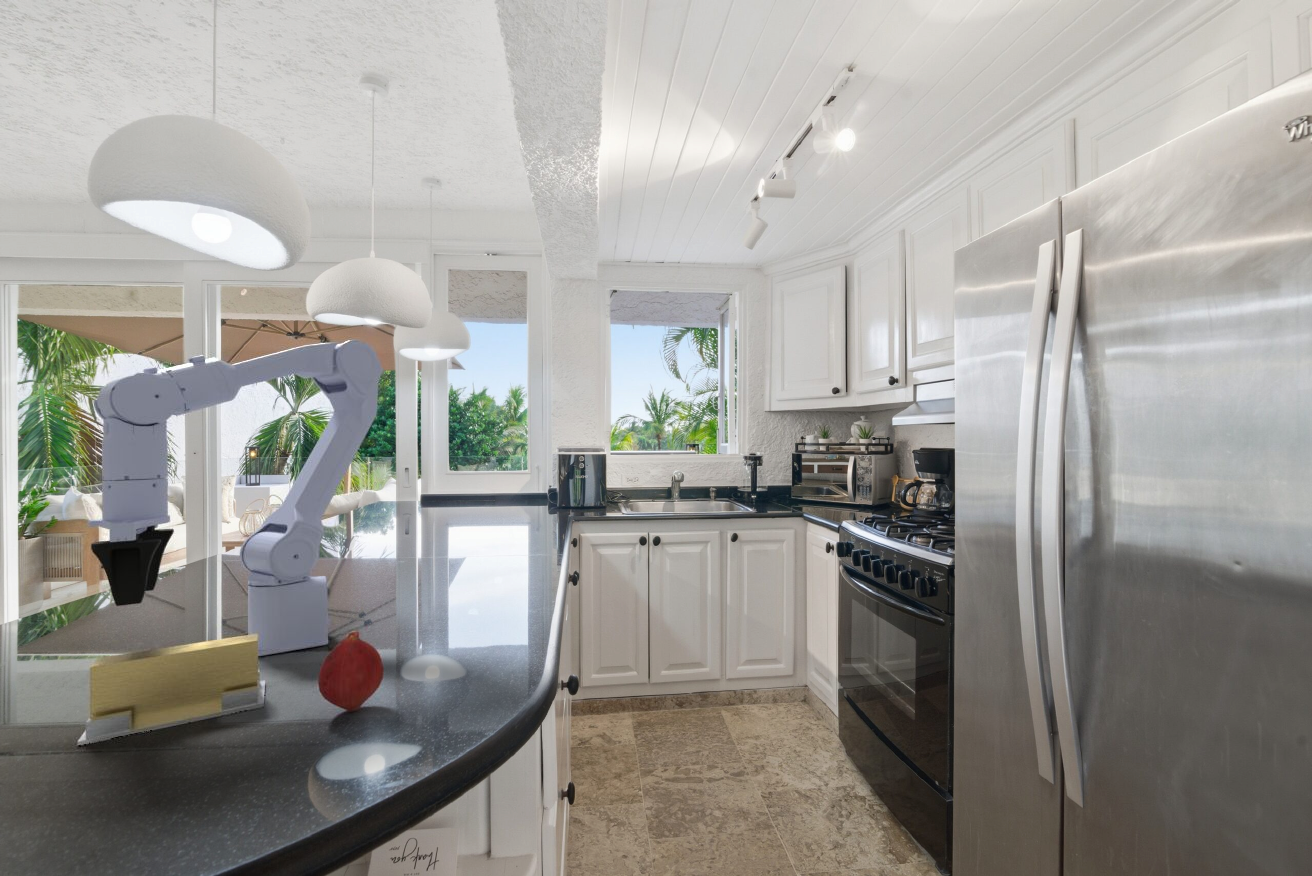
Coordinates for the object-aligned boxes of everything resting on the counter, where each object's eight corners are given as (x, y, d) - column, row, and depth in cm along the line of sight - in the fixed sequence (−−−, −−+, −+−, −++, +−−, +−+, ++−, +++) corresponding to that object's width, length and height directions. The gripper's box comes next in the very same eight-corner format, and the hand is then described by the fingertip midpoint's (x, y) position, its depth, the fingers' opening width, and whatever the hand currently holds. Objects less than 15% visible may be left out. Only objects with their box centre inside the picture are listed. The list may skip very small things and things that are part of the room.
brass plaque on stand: (258, 688, 65) (258, 633, 65) (257, 697, 62) (257, 640, 62) (98, 719, 58) (98, 658, 58) (90, 731, 55) (89, 667, 55)
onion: (317, 729, 55) (316, 643, 56) (319, 706, 61) (319, 628, 61) (385, 715, 58) (384, 633, 58) (382, 694, 63) (381, 619, 63)
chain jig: (265, 683, 67) (265, 666, 67) (263, 706, 61) (263, 688, 61) (98, 715, 60) (98, 696, 60) (77, 746, 53) (77, 724, 53)
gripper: (104, 479, 72) (105, 590, 72) (69, 483, 60) (69, 617, 60) (178, 476, 76) (178, 582, 76) (159, 480, 64) (159, 606, 64)
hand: (136, 597), depth 68 cm, fingers open, 7 cm apart
